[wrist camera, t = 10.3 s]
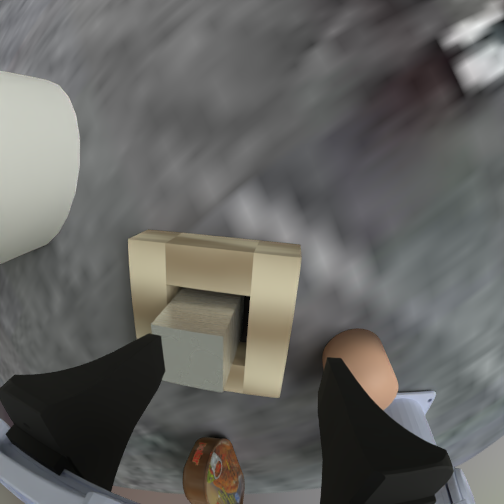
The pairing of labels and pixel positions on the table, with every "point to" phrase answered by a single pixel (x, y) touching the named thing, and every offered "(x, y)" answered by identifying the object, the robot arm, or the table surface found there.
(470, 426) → the table surface
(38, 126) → the cylinder
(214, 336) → the square peg
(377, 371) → the round peg
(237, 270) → the bore block
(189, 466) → the tin
